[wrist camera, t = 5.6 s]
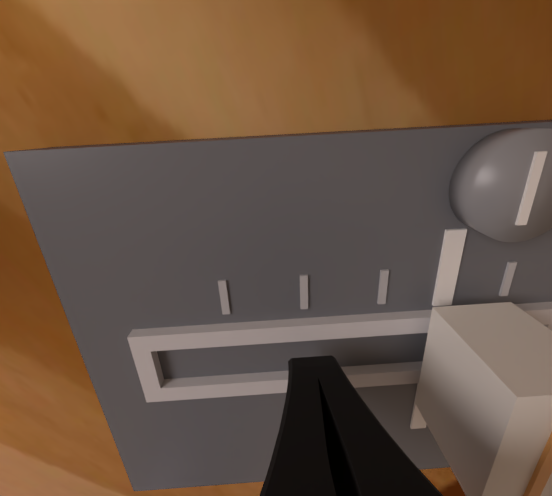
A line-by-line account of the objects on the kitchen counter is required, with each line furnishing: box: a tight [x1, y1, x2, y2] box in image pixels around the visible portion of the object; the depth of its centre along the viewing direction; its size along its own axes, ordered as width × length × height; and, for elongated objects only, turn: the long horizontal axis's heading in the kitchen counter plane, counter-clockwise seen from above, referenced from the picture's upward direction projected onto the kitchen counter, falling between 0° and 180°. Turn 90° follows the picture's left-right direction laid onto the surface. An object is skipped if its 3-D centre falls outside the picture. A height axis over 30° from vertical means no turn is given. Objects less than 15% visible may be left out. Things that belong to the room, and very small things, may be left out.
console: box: [3, 120, 552, 491], centre depth 11 cm, size 14×16×3 cm
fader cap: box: [415, 302, 552, 496], centre depth 8 cm, size 4×2×4 cm, turn 3°
